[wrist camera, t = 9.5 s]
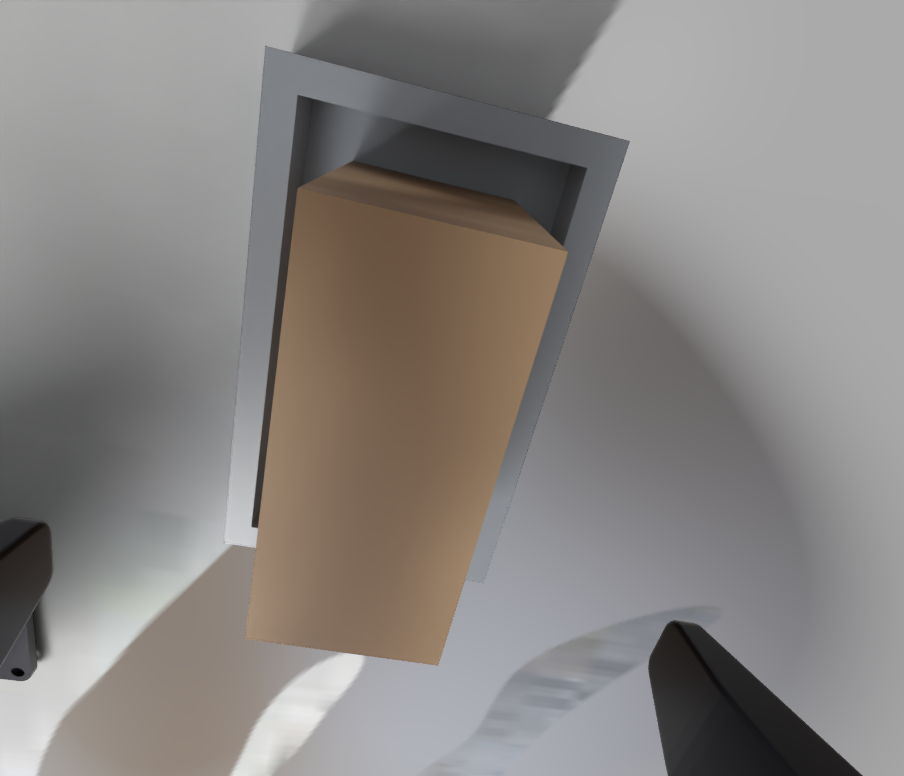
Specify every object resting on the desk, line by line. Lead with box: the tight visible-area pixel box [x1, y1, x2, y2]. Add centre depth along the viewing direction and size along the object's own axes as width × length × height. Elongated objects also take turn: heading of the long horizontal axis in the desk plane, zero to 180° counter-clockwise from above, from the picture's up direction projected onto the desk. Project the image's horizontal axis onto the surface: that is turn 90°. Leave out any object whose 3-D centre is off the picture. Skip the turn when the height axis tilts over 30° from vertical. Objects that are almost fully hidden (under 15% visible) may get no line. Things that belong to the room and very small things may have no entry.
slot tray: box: [224, 46, 630, 583], centre depth 17 cm, size 14×9×2 cm, turn 167°
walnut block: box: [245, 161, 568, 665], centre depth 15 cm, size 4×10×7 cm, turn 167°
